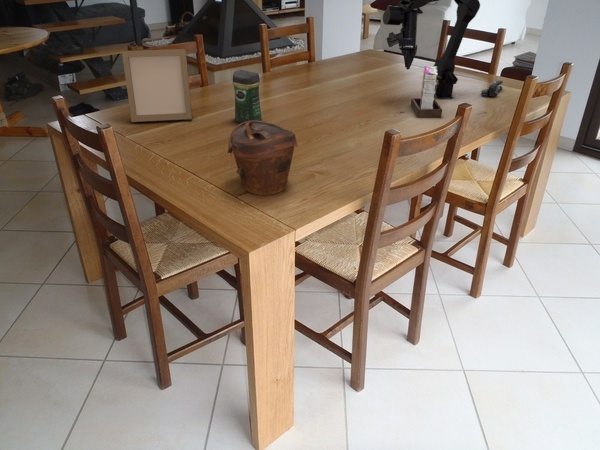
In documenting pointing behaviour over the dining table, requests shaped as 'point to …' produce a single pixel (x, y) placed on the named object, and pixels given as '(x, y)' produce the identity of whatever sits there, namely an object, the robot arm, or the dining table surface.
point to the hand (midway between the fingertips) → (407, 68)
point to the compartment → (426, 113)
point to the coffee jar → (246, 96)
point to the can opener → (492, 89)
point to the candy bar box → (428, 87)
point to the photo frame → (157, 84)
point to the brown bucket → (262, 155)
